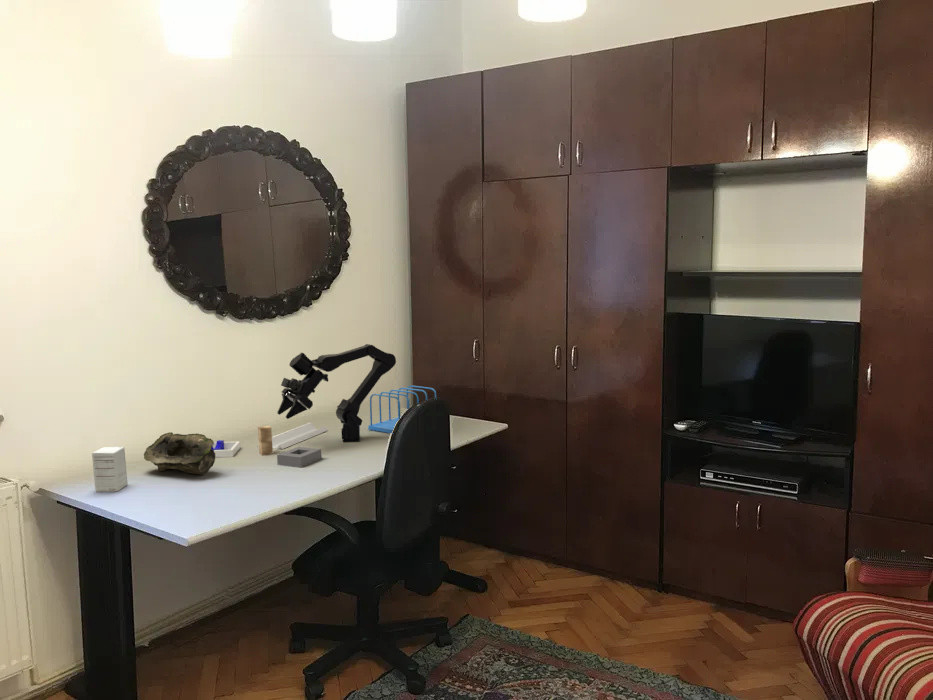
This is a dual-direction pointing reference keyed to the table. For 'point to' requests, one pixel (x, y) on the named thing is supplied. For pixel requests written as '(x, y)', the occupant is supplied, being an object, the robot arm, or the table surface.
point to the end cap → (299, 456)
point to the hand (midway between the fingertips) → (282, 415)
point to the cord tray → (227, 453)
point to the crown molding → (295, 436)
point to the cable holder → (219, 445)
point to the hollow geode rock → (182, 453)
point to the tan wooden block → (265, 440)
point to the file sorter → (389, 424)
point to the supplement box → (109, 469)
